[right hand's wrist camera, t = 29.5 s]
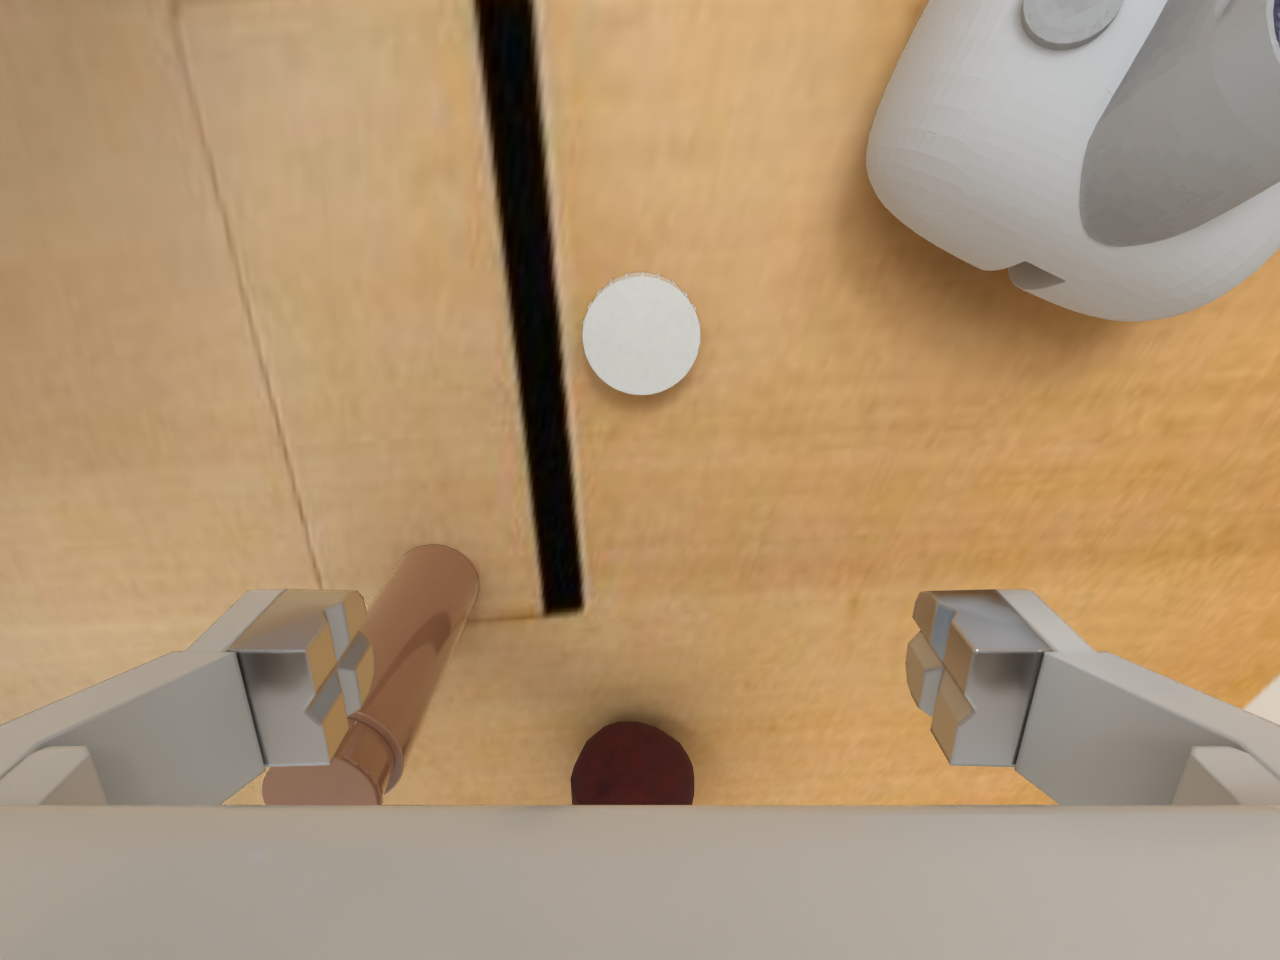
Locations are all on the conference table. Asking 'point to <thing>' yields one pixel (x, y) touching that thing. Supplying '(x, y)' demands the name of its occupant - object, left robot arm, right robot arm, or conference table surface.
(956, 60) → the projector
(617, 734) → the potato
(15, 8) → the conference table surface
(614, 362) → the lid
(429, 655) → the pinkish brown bottle
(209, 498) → the conference table surface
